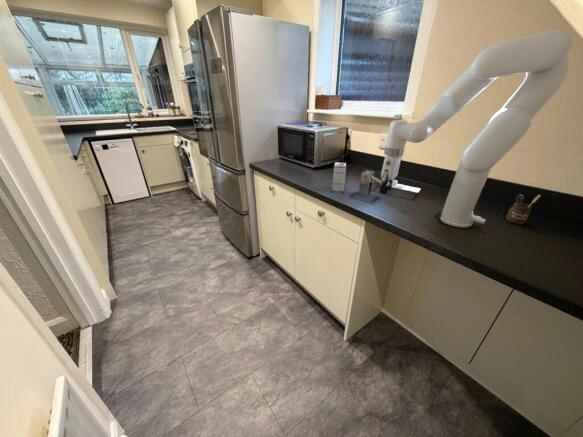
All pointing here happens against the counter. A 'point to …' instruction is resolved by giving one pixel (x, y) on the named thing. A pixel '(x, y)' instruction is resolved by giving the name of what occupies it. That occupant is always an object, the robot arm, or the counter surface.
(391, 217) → the counter surface
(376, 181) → the lever
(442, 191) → the counter surface
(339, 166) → the syrup box
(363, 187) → the bracket
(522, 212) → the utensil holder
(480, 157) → the robot arm
